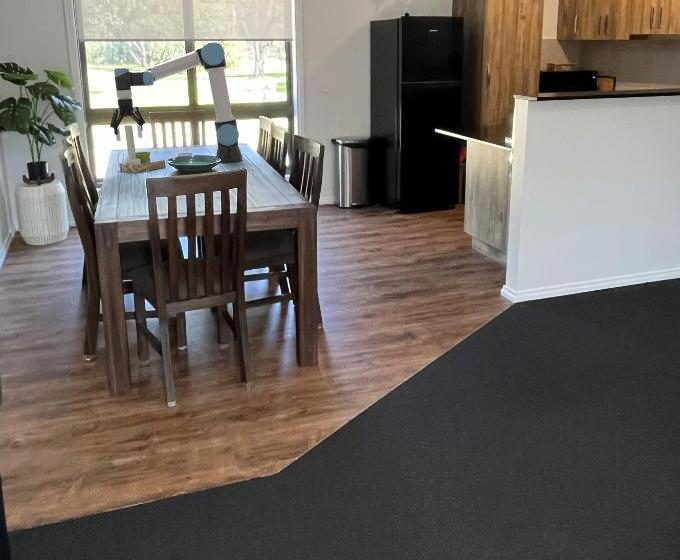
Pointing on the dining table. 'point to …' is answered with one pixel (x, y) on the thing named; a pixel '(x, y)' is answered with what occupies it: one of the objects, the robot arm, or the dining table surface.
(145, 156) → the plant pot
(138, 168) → the wooden tray
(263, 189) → the dining table surface
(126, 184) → the dining table surface
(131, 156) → the puller
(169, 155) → the dining table surface
